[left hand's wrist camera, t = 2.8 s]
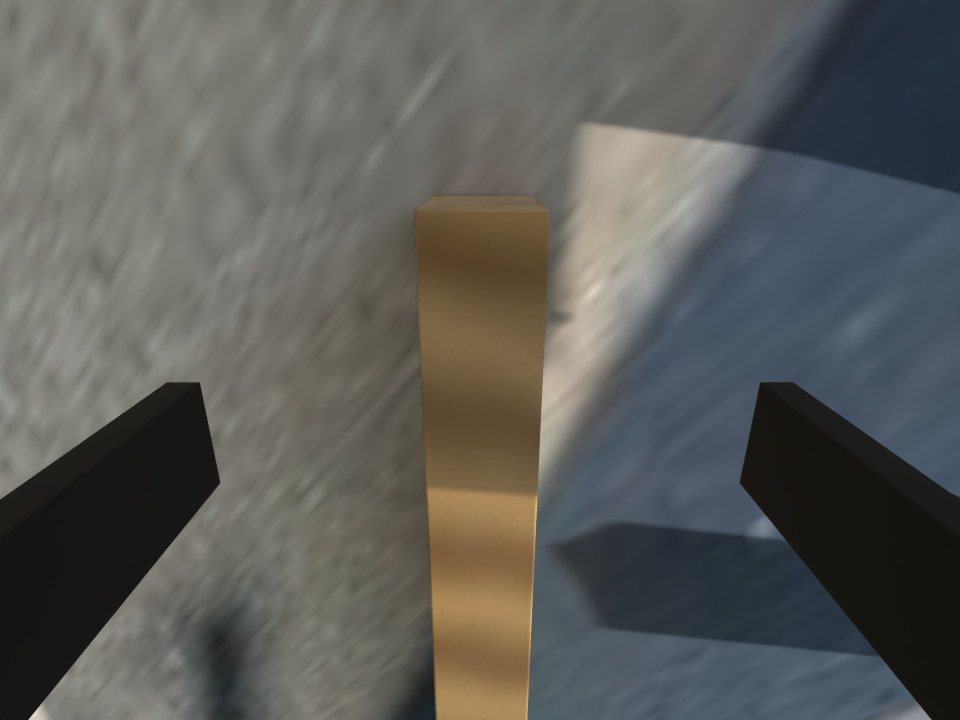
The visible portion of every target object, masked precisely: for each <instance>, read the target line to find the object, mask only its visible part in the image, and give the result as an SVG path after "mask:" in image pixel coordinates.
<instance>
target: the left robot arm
mask: <svg viewBox="0 0 960 720" xmlns="http://www.w3.org/2000/svg"><path fill="white" fill-rule="evenodd" d="M219 484H220V479H219V474H218V469H217V464H216V460H215V455H214V450H213V445H212V440H211V435H210V430H209V425H208V420H207V416H206V411H205V406H204V401H203V396H202V391H201V386H200V382H167V383H166V384H164V385H163V386H161V387H160V388H158V389H157V390H156V391H154V392H153V393H151V394H150V395H148V396H147V397H146V398H144V399H143V400H141V401H140V402H139V403H137V404H136V405H134V406H133V407H131V408H130V409H129V410H127V411H126V412H124V413H123V414H121V415H120V416H119V417H117V418H116V419H114V420H113V421H111V422H110V423H109V424H107V425H106V426H104V427H103V428H102V429H100V430H99V431H97V432H96V433H94V434H93V435H92V436H90V437H89V438H87V439H86V440H84V441H83V442H82V443H80V444H79V445H77V446H76V447H74V448H73V449H72V450H70V451H69V452H67V453H66V454H65V455H63V456H62V457H60V458H59V459H57V460H56V461H55V462H53V463H52V464H50V465H49V466H47V467H46V468H45V469H43V470H42V471H40V472H39V473H37V474H36V475H35V476H33V477H32V478H30V479H29V480H28V481H26V482H25V483H23V484H22V485H20V486H19V487H18V488H16V489H15V490H13V491H12V492H10V493H9V494H8V495H6V496H5V497H3V498H2V499H0V720H29V718H30V717H31V716H32V715H33V713H34V712H35V711H36V710H37V708H38V707H39V706H40V705H41V704H42V702H43V701H44V700H45V699H46V697H47V696H48V695H49V694H50V692H51V691H52V690H53V689H54V687H55V686H56V685H57V684H58V683H59V681H60V680H61V679H62V678H63V676H64V675H65V674H66V673H67V671H68V670H69V669H70V668H71V666H72V665H73V664H74V663H75V662H76V660H77V659H78V658H79V657H80V655H81V654H82V653H83V652H84V650H85V649H86V648H87V647H88V646H89V644H90V643H91V642H92V641H93V639H94V638H95V637H96V636H97V634H98V633H99V632H100V631H101V629H102V628H103V627H104V626H105V625H106V623H107V622H108V621H109V620H110V618H111V617H112V616H113V615H114V613H115V612H116V611H117V610H118V609H119V607H120V606H121V605H122V604H123V602H124V601H125V600H126V599H127V597H128V596H129V595H130V594H131V592H132V591H133V590H134V589H135V588H136V586H137V585H138V584H139V583H140V581H141V580H142V579H143V578H144V576H145V575H146V574H147V573H148V571H149V570H150V569H151V568H152V567H153V565H154V564H155V563H156V562H157V560H158V559H159V558H160V557H161V555H162V554H163V553H164V552H165V551H166V549H167V548H168V547H169V546H170V544H171V543H172V542H173V541H174V539H175V538H176V537H177V536H178V534H179V533H180V532H181V531H182V530H183V528H184V527H185V526H186V525H187V523H188V522H189V521H190V520H191V518H192V517H193V516H194V515H195V514H196V512H197V511H198V510H199V509H200V507H201V506H202V505H203V504H204V502H205V501H206V500H207V499H208V497H209V496H210V495H211V494H212V493H213V491H214V490H215V489H216V488H217V486H218V485H219ZM740 484H741V485H742V486H743V488H744V489H745V490H746V491H747V493H748V494H749V495H750V496H751V497H752V499H753V500H754V501H755V502H756V504H757V505H758V506H759V507H760V509H761V510H762V511H763V512H764V514H765V515H766V516H767V517H768V518H769V520H770V521H771V522H772V523H773V525H774V526H775V527H776V528H777V530H778V531H779V532H780V533H781V534H782V536H783V537H784V538H785V539H786V541H787V542H788V543H789V544H790V546H791V547H792V548H793V549H794V551H795V552H796V553H797V554H798V555H799V557H800V558H801V559H802V560H803V562H804V563H805V564H806V565H807V567H808V568H809V569H810V570H811V571H812V573H813V574H814V575H815V576H816V578H817V579H818V580H819V581H820V583H821V584H822V585H823V586H824V588H825V589H826V590H827V591H828V592H829V594H830V595H831V596H832V597H833V599H834V600H835V601H836V602H837V604H838V605H839V606H840V607H841V609H842V610H843V611H844V612H845V613H846V615H847V616H848V617H849V618H850V620H851V621H852V622H853V623H854V625H855V626H856V627H857V628H858V629H859V631H860V632H861V633H862V634H863V636H864V637H865V638H866V639H867V641H868V642H869V643H870V644H871V646H872V647H873V648H874V649H875V650H876V652H877V653H878V654H879V655H880V657H881V658H882V659H883V660H884V662H885V663H886V664H887V665H888V666H889V668H890V669H891V670H892V671H893V673H894V674H895V675H896V676H897V678H898V679H899V680H900V681H901V683H902V684H903V685H904V686H905V687H906V689H907V690H908V691H909V692H910V694H911V695H912V696H913V697H914V699H915V700H916V701H917V702H918V704H919V705H920V706H921V707H922V708H923V710H924V711H925V712H926V713H927V715H928V716H929V717H930V718H931V720H960V497H958V496H956V495H954V494H952V493H950V492H948V491H947V490H945V489H944V488H942V487H941V486H940V485H938V484H937V483H935V482H934V481H932V480H931V479H930V478H928V477H927V476H925V475H924V474H923V473H921V472H920V471H918V470H917V469H915V468H914V467H913V466H911V465H910V464H908V463H907V462H905V461H904V460H903V459H901V458H900V457H898V456H897V455H895V454H894V453H893V452H891V451H890V450H888V449H887V448H886V447H884V446H883V445H881V444H880V443H878V442H877V441H876V440H874V439H873V438H871V437H870V436H868V435H867V434H866V433H864V432H863V431H861V430H860V429H858V428H857V427H856V426H854V425H853V424H851V423H850V422H849V421H847V420H846V419H844V418H843V417H841V416H840V415H839V414H837V413H836V412H834V411H833V410H831V409H830V408H829V407H827V406H826V405H824V404H823V403H821V402H820V401H819V400H817V399H816V398H814V397H813V396H812V395H810V394H809V393H807V392H806V391H804V390H803V389H802V388H800V387H799V386H797V385H796V384H794V383H793V382H760V386H759V391H758V396H757V401H756V406H755V411H754V416H753V420H752V425H751V430H750V435H749V440H748V445H747V450H746V455H745V459H744V464H743V469H742V474H741V479H740Z"/></svg>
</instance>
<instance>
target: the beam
mask: <svg viewBox="0 0 960 720" xmlns="http://www.w3.org/2000/svg"><path fill="white" fill-rule="evenodd" d="M414 219H415V242H416V266H417V289H418V313H419V336H420V359H421V383H422V406H423V430H424V453H425V477H426V500H427V523H428V547H429V570H430V594H431V617H432V640H433V664H434V687H435V711H436V720H527V709H528V688H529V666H530V644H531V622H532V600H533V578H534V556H535V534H536V512H537V490H538V468H539V447H540V425H541V403H542V381H543V359H544V337H545V315H546V293H547V271H548V249H549V227H550V210H548V209H547V208H546V207H544V206H543V205H541V204H540V203H538V202H537V201H535V200H534V199H532V198H531V197H530V196H434V197H432V198H431V199H430V200H428V201H427V202H425V203H424V204H423V205H421V206H420V207H419V208H417V209H416V210H415V211H414Z"/></svg>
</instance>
